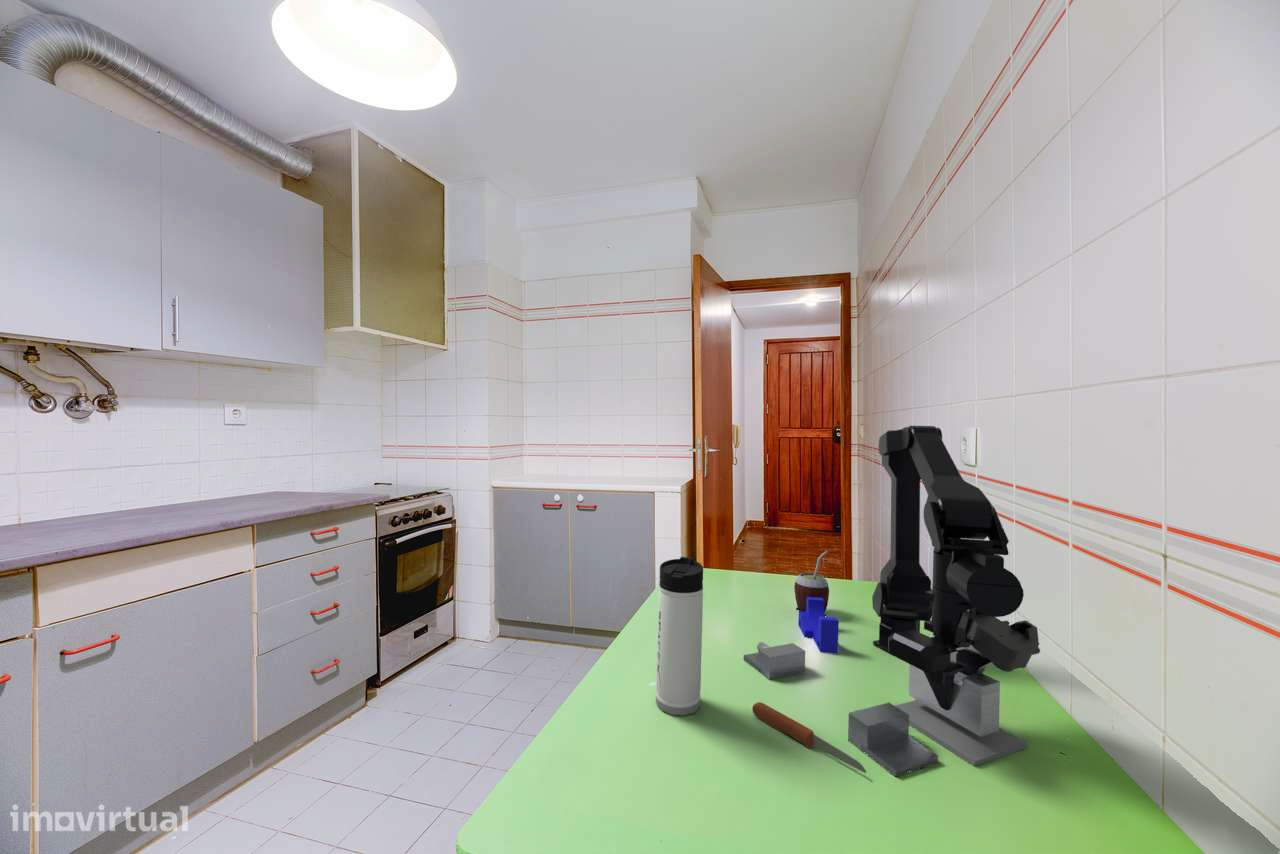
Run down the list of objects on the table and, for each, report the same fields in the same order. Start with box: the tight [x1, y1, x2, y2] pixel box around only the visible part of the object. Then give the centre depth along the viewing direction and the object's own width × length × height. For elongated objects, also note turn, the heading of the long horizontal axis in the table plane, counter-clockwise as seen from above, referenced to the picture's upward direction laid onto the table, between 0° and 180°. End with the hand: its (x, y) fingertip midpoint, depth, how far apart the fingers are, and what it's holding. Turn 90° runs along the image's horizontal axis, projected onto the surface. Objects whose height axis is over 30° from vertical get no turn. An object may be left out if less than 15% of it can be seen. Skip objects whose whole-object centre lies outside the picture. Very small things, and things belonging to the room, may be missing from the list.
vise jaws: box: [743, 641, 939, 777], centre depth 71 cm, size 7×30×4 cm, turn 22°
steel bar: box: [908, 664, 1001, 737], centre depth 66 cm, size 4×10×6 cm, turn 23°
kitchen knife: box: [751, 701, 867, 774], centre depth 62 cm, size 16×1×2 cm, turn 38°
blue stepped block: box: [797, 597, 840, 655], centre depth 93 cm, size 12×4×6 cm, turn 173°
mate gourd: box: [793, 549, 830, 617], centre depth 106 cm, size 8×8×15 cm
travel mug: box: [655, 556, 704, 716], centre depth 70 cm, size 6×7×20 cm
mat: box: [894, 699, 1028, 767], centre depth 66 cm, size 10×12×1 cm
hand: (954, 706), depth 66 cm, fingers closed on steel bar, 3 cm apart
